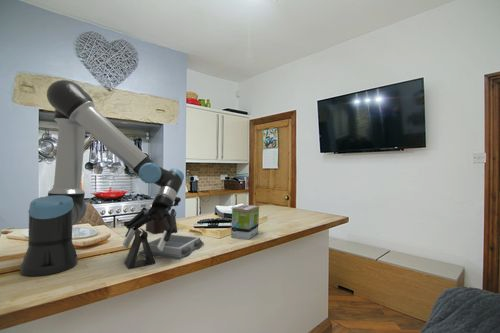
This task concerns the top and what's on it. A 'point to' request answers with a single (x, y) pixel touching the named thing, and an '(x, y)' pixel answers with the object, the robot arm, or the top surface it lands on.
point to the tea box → (245, 221)
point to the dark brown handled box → (160, 222)
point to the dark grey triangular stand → (134, 251)
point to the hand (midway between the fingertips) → (142, 247)
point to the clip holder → (175, 246)
